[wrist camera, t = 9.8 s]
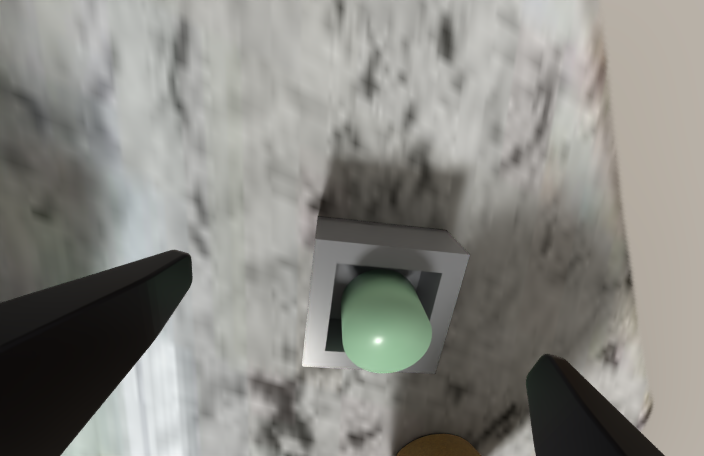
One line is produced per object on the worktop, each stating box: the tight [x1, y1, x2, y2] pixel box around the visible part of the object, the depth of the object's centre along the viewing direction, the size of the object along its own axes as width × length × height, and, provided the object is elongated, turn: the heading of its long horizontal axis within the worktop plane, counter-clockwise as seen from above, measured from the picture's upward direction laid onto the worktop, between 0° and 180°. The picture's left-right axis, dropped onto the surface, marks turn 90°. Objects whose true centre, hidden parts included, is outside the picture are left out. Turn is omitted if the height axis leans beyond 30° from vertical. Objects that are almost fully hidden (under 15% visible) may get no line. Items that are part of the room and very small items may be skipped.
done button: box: [341, 269, 432, 373], centre depth 17 cm, size 4×4×3 cm
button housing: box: [302, 216, 470, 374], centre depth 19 cm, size 8×8×4 cm
